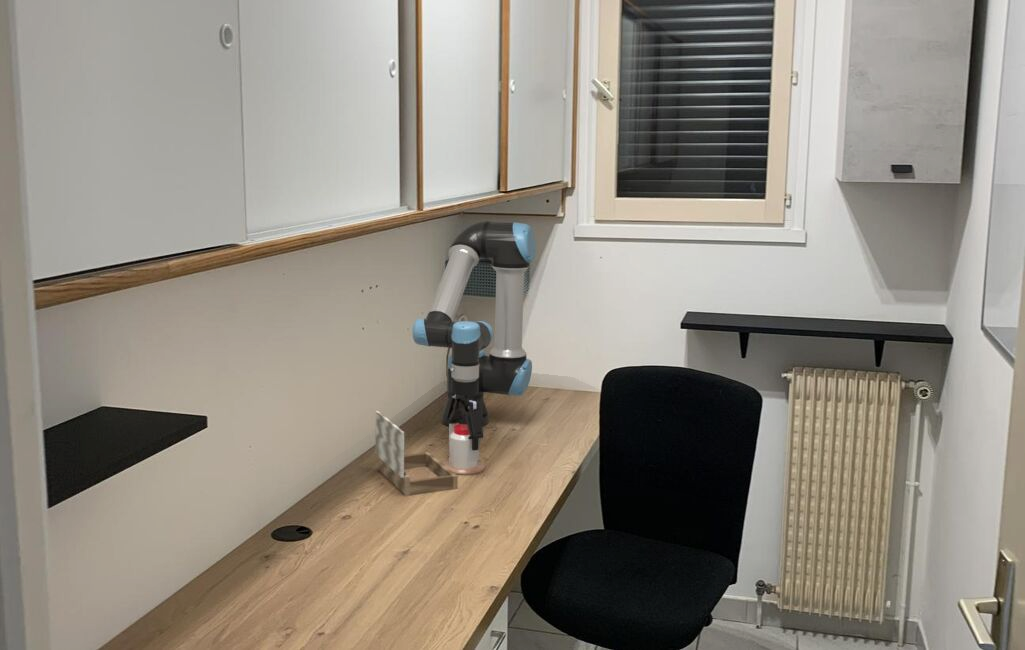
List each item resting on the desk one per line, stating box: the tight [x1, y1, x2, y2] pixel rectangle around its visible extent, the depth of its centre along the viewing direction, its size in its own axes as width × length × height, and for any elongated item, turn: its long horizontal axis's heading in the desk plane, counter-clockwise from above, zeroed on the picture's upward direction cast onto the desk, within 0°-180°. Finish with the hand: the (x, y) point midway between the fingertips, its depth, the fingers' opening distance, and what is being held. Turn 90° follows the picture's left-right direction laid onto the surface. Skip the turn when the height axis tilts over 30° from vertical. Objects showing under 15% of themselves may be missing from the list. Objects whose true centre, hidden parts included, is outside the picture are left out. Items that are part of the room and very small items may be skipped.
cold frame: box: [374, 410, 459, 497], centre depth 259 cm, size 20×16×17 cm
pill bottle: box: [448, 424, 477, 469], centre depth 270 cm, size 8×8×11 cm
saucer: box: [442, 459, 486, 476], centre depth 271 cm, size 12×12×1 cm
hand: (463, 453), depth 270 cm, fingers open, 13 cm apart
